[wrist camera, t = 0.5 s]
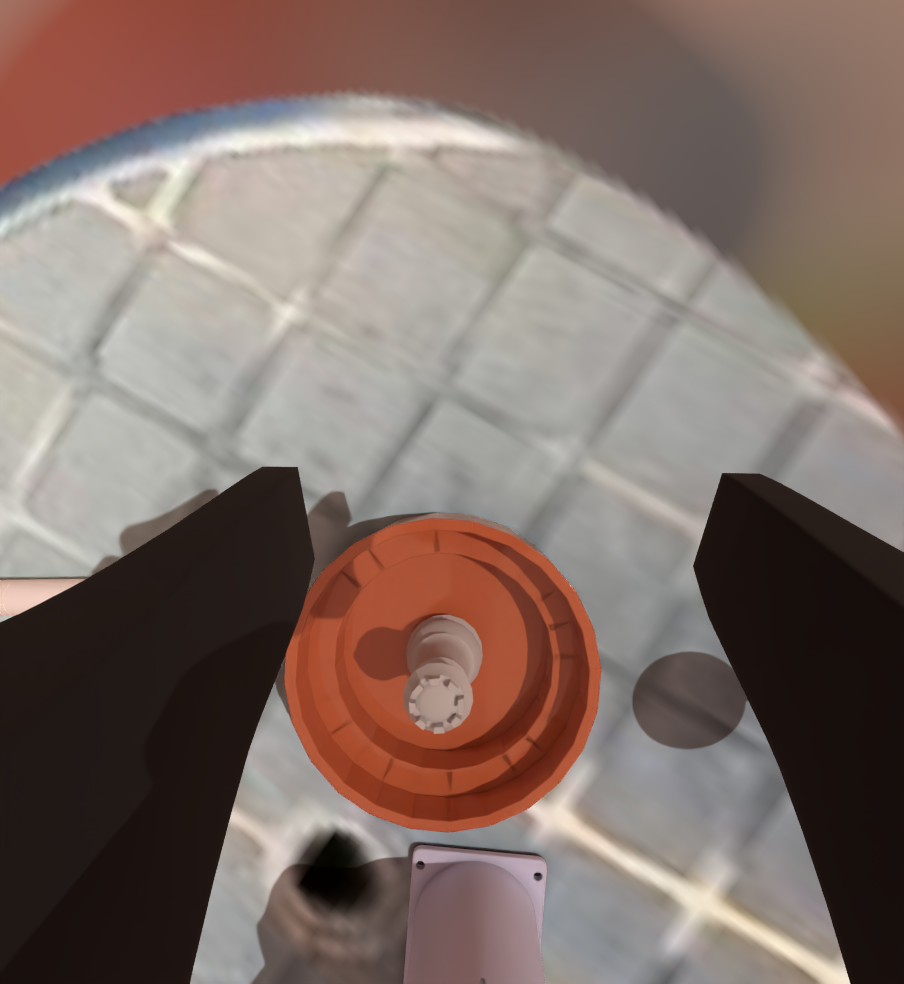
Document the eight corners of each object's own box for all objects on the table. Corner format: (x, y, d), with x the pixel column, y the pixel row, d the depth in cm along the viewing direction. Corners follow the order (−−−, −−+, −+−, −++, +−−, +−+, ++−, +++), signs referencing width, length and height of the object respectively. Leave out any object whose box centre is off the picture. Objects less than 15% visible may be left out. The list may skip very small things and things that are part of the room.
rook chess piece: (392, 643, 33) (366, 697, 25) (450, 596, 32) (444, 636, 24) (439, 702, 33) (429, 775, 25) (498, 656, 32) (507, 714, 24)
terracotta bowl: (569, 792, 33) (586, 846, 28) (302, 767, 33) (274, 816, 29) (592, 523, 32) (613, 531, 28) (320, 502, 33) (295, 507, 28)
